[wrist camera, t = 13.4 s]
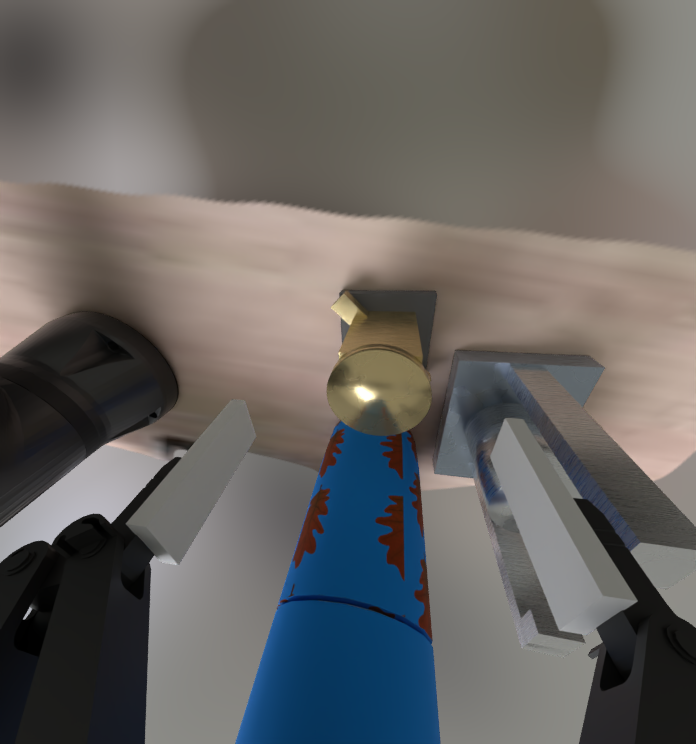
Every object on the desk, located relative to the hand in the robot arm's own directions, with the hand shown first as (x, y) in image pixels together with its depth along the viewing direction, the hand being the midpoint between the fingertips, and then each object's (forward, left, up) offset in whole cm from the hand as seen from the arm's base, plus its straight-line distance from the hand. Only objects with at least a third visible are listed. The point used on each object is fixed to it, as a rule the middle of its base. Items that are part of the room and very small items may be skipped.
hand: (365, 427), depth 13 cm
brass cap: (0, 0, -12) cm, 12 cm away
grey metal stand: (+12, -9, -13) cm, 20 cm away
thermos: (-1, -15, -13) cm, 20 cm away
